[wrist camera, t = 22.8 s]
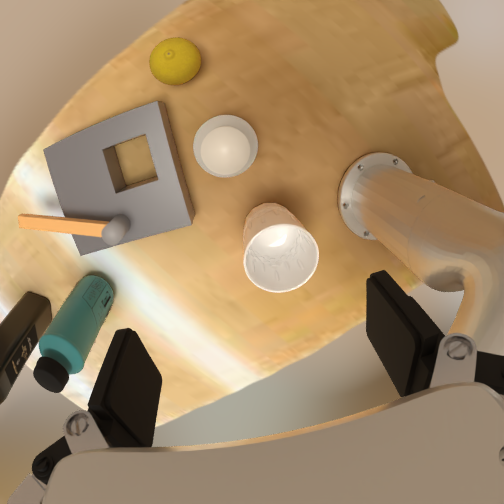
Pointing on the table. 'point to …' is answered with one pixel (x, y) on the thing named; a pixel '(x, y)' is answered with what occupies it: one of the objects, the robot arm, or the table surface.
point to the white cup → (277, 249)
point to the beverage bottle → (73, 333)
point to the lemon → (175, 61)
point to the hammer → (78, 226)
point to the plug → (225, 146)
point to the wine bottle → (21, 337)
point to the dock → (121, 177)
